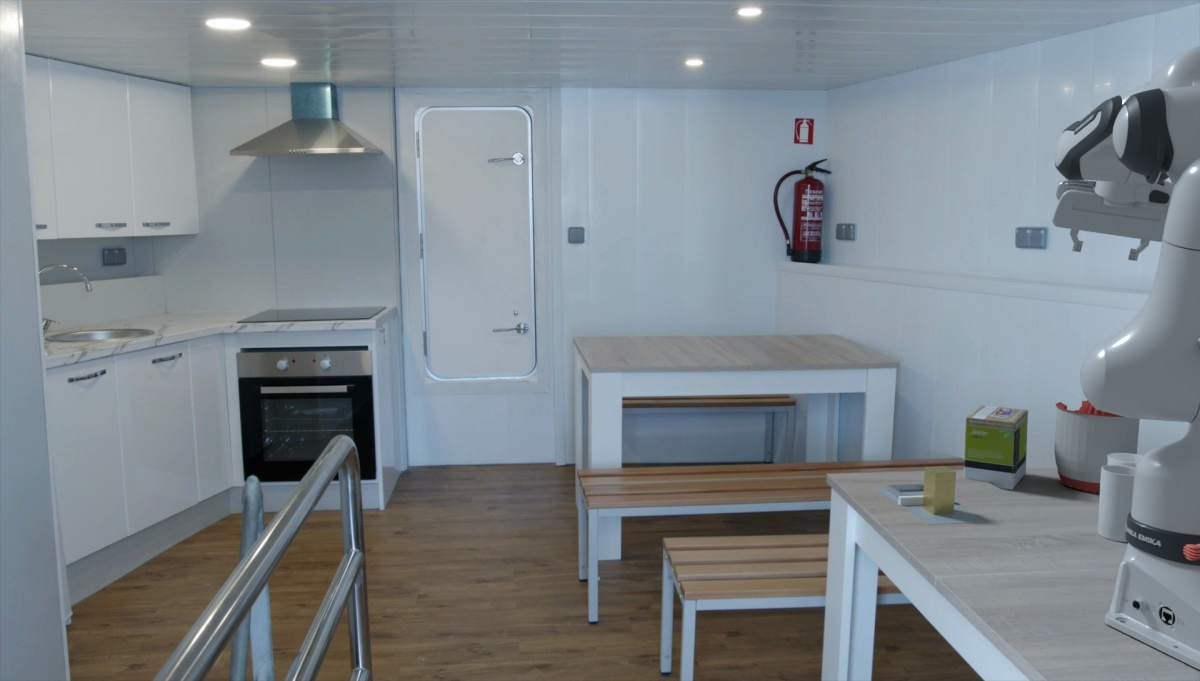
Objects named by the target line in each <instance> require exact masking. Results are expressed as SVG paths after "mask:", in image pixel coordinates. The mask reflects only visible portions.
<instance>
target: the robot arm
mask: <svg viewBox="0 0 1200 681" xmlns="http://www.w3.org/2000/svg"><path fill="white" fill-rule="evenodd" d="M1054 167H1055V168H1056V170H1057V171H1058V172H1059V173H1060V174H1061V176H1063V177H1064V178H1065V179H1066V180H1064V181H1062V182H1060V183H1059V184H1058V185H1057V189H1056V194H1055V196H1056V199H1057V200H1058V202H1057V205H1056V207H1055V209H1054V212H1053V216H1052V220H1051V223H1052V224H1053V226H1054V227H1056V228H1063V229H1069V230H1070V231H1069V232H1070V233H1069V235H1070V238H1071V241H1072V243H1073V245H1072V246H1073V247H1072V252H1078V253H1081V251H1082V249H1083V244H1084V240H1079V237H1078V235H1079V232H1080V231H1084V232H1089V233H1096V234H1097V233H1098V234H1103V235H1111V236H1116V237H1123V238H1124V237H1125V238H1131V239H1138V240H1140V242H1139V245H1138V246H1137V247H1136V248H1130V249H1129V254H1128V258H1127V260H1129V261H1134V262H1137V261H1138V259H1139V256H1140V254H1141V253H1142V252H1143V251H1144V250H1145V249H1147V247H1149V245H1150V242H1160V243H1161V246H1160V252H1159V258H1158V264H1157V269H1156V273H1155V276H1154V281H1153V285H1152V288H1151V291H1150V293H1149V295H1148V298H1147V300H1146V302H1145V303H1144V305H1143V306H1142V308H1141V310H1140V311H1139V312H1138V313H1137V314H1136V316H1134V318H1133V319H1132V320H1131V321H1130V322H1129V323H1127V324H1126V325H1125V327H1123V328H1122V329H1120V330H1119V331H1118V332H1116V333H1115V334H1113V335H1112V336H1110V337H1108V338H1106V339H1104V340H1102V341H1100V342H1098V343H1097V344H1095V345H1094V346H1093V347H1092V348H1091V349H1090V350H1089V352H1087V354H1086V356H1085V357H1084V359H1083V362H1082V363H1081V368H1080V373H1079V382H1080V387H1081V389H1082V393H1083V394H1084V396H1085V398H1086V401H1087V400H1088V401H1089V402H1090V404H1091V405H1092V406H1093V407H1094V408H1095V409H1097V410H1100V411H1104V412H1108V413H1111V414H1115V415H1120V416H1124V417H1129V418H1133V419H1140V420H1147V421H1149V420H1154V421H1164V422H1165V421H1166V422H1178V423H1179V422H1180V423H1189V425H1188V427H1187V429H1186V431H1185V432H1184V433H1183V434H1182V435H1181V436H1180V437H1179V438H1178V439H1176V440H1175V441H1173V442H1170V443H1167V444H1165V445H1164V444H1163V445H1161V446H1157V447H1155V448H1153V449H1150V450H1149V451H1147V452H1146V453H1144V454H1143V456H1142V457H1141V458H1140V459H1139V461H1138V462H1137V464H1136V466H1135V470H1134V483H1133V496H1132V509H1131V512H1130V513H1129V514H1128V516H1127V523H1126V524H1125V529H1126V533H1125V539H1126V540H1127V542H1126V543H1127V547H1126V551H1125V553H1124V555H1123V558H1122V560H1121V562H1120V565H1119V568H1118V573H1117V578H1116V582H1115V587H1114V592H1113V597H1112V600H1111V603H1110V606H1109V610H1108V611H1107V612H1106V614H1105V617H1104V623H1105V624H1106V625H1108V626H1110V627H1112V628H1114V629H1116V630H1118V631H1120V632H1122V633H1124V634H1126V635H1128V636H1130V637H1132V638H1134V639H1136V640H1138V641H1140V642H1142V643H1144V644H1146V645H1149V646H1150V647H1152V648H1154V649H1157V650H1158V651H1160V652H1162V653H1165V654H1167V655H1168V656H1171V657H1172V658H1174V659H1177V660H1178V661H1181V662H1183V663H1185V664H1187V665H1189V666H1191V667H1193V668H1195V669H1197V670H1199V671H1200V46H1195V47H1192V48H1189V49H1187V50H1185V51H1183V52H1181V53H1179V54H1178V55H1176V56H1174V57H1172V59H1170V60H1169V61H1168V62H1166V63H1165V64H1164V65H1163V66H1162V67H1161V68H1160V69H1159V70H1157V71H1156V73H1154V75H1153V76H1152V77H1151V79H1150V80H1149V81H1148V82H1145V83H1144V84H1142V85H1140V86H1138V87H1136V88H1133V89H1131V90H1129V91H1126V92H1124V93H1122V94H1120V95H1118V94H1117V95H1116V96H1114V97H1113V96H1112V97H1111V98H1108V99H1106V100H1104V101H1103V102H1101V103H1100V104H1098V105H1097V106H1096V107H1095V108H1094V109H1092V110H1091V112H1089V113H1088V114H1087V115H1086V116H1085V117H1083V118H1082V119H1081V120H1077V121H1075V122H1073V123H1071V124H1070V125H1069V126H1067V127H1066V128H1065V129H1064V130H1063V131H1062V133H1061V135H1060V137H1059V138H1058V139H1057V142H1056V145H1055V150H1054ZM1168 178H1169V180H1170V182H1169V181H1167V179H1168Z"/></svg>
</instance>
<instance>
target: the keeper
mask: <svg viewBox="0 0 1200 681" xmlns="http://www.w3.org/2000/svg"><path fill="white" fill-rule="evenodd" d="M886 488H887V491H888V492H889V493H891V494H892V495H894V496H895V497H897V498H898V496H918V495H905V494H903V493H902V492H900V491H918V490H921V491H923V492H924V483H910V484H909V483H907V484H905V483H904V484H886Z"/></svg>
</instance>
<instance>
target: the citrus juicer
mask: <svg viewBox="0 0 1200 681" xmlns="http://www.w3.org/2000/svg"><path fill="white" fill-rule="evenodd" d="M1055 408H1056V412H1055V413H1056V416H1055V429H1054V431H1055V432H1054V459H1055V464H1056V469H1057V475H1058V477H1059V479H1060V481H1061V483H1062V484H1063V485H1065V486H1067V487H1068V488H1069V487H1070V488H1073V489H1077V490H1081V491H1085V492H1086V493H1090V494H1097V493H1100V481H1101V467H1102V466H1106V465H1107V455H1108V454H1111V453H1130V454H1137V455H1138V446H1139V445H1138V444H1139V432H1140V431H1139V430H1140V423H1141V422H1140V420H1141V419H1133V418H1129V417H1124V416H1120V415H1115V414H1111V413H1108V412H1104V411H1100V410H1097V409H1095V408H1094V407H1093V406H1092V405H1091V404H1090V402H1089V401H1088V400H1087V399H1086V400H1082V401H1081V406H1080V407H1079V409H1078V410H1077V409H1076V410H1070V409H1068V405H1067V404H1065V403H1063V402H1062V401H1060V402H1056V403H1055Z"/></svg>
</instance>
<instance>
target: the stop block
mask: <svg viewBox="0 0 1200 681" xmlns="http://www.w3.org/2000/svg"><path fill="white" fill-rule="evenodd" d="M956 474H957V471H955V470H953V469H951V468H949V467H947V466H945V465H944V466H943V465H941V466H925V467H924V475H923V476H924V477H923V484H924V494H923V508H924V509H925V510H927V511H928V512H930V513H931V514H933V515H939V514H954V503H955V500H954V498H955V496H956V494H955V493H956V476H957V475H956Z"/></svg>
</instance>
